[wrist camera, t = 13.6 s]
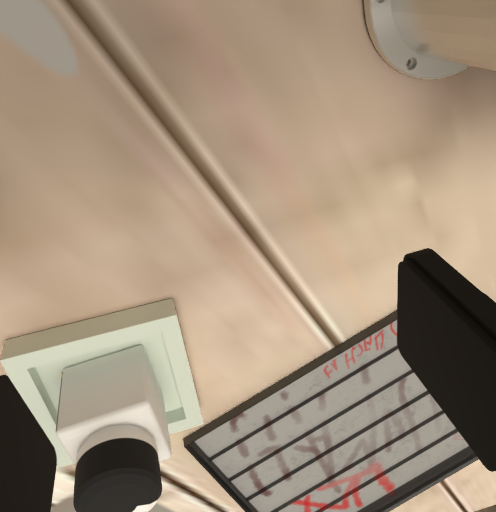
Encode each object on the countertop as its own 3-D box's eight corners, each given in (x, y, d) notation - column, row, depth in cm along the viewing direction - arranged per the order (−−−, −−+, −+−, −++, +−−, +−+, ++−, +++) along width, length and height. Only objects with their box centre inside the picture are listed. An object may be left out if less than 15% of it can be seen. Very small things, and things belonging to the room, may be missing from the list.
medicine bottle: (60, 367, 39) (46, 496, 29) (142, 342, 40) (155, 458, 30) (90, 420, 43) (86, 550, 33) (163, 396, 44) (181, 514, 34)
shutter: (181, 401, 55) (296, 531, 68) (183, 447, 48) (309, 581, 62) (419, 267, 52) (489, 430, 66) (454, 297, 46) (523, 471, 60)
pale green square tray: (172, 297, 40) (176, 314, 38) (199, 405, 47) (203, 424, 45) (5, 340, 38) (-1, 360, 36) (61, 446, 45) (58, 468, 43)
